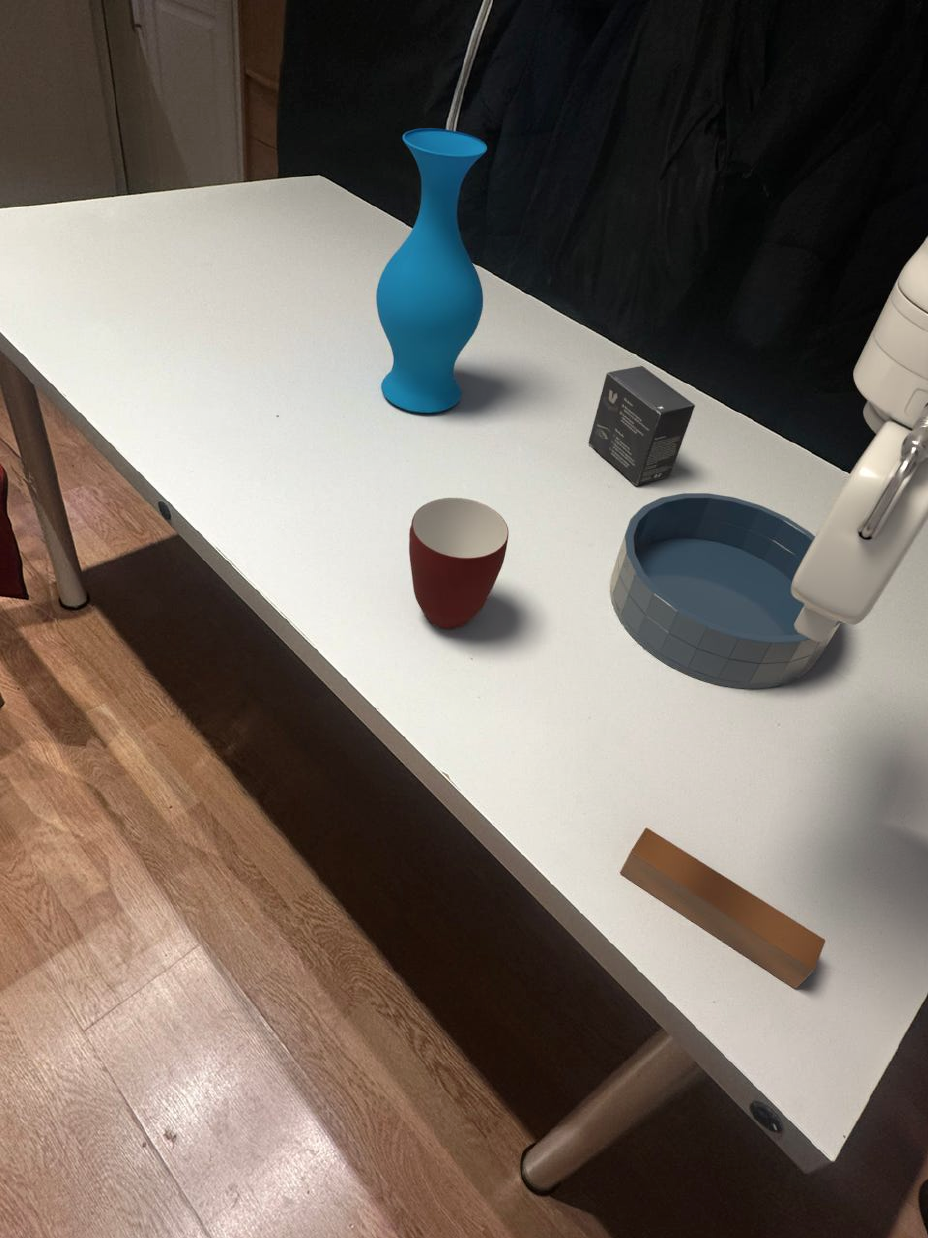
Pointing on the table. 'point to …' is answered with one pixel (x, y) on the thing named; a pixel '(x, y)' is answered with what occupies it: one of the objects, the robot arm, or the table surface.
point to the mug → (455, 558)
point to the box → (640, 424)
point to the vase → (431, 280)
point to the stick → (723, 908)
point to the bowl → (715, 590)
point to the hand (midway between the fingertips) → (835, 587)
